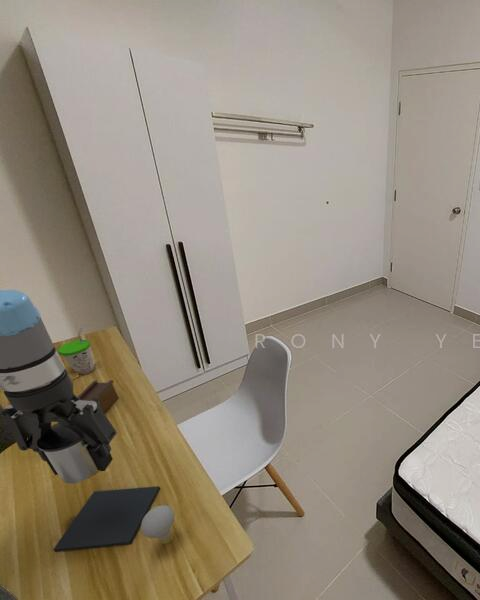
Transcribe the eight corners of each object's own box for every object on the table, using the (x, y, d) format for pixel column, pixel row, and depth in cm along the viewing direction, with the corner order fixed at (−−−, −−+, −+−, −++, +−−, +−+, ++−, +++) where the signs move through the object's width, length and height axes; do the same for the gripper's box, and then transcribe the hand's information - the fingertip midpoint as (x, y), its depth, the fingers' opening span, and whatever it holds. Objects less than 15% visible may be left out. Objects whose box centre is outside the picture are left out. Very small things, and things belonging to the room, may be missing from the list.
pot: (94, 482, 63) (117, 449, 69) (74, 448, 58) (101, 415, 65) (48, 486, 62) (76, 451, 68) (24, 451, 57) (57, 417, 64)
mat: (55, 552, 66) (52, 549, 66) (95, 493, 77) (93, 491, 76) (131, 544, 68) (129, 541, 68) (160, 488, 79) (159, 486, 78)
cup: (74, 381, 108) (54, 344, 101) (67, 371, 112) (48, 334, 105) (103, 370, 113) (87, 334, 106) (96, 360, 117) (80, 325, 110)
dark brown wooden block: (84, 418, 95) (74, 399, 92) (102, 398, 102) (93, 380, 99) (104, 417, 96) (94, 399, 93) (120, 397, 103) (112, 379, 100)
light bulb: (158, 561, 66) (143, 534, 61) (147, 542, 69) (132, 515, 64) (187, 538, 70) (175, 511, 65) (176, 521, 73) (163, 494, 68)
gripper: (-62, 398, 50) (9, 490, 60) (88, 391, 53) (130, 479, 64) (-15, 366, 56) (41, 454, 67) (116, 362, 60) (149, 446, 70)
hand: (84, 466), depth 65 cm, fingers closed on pot, 7 cm apart
